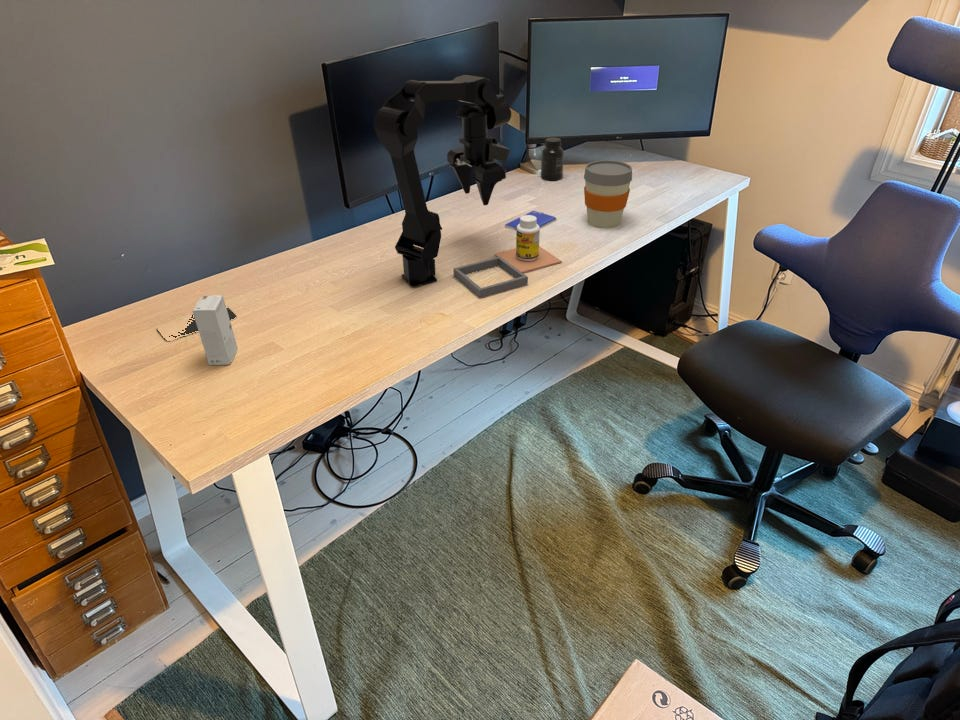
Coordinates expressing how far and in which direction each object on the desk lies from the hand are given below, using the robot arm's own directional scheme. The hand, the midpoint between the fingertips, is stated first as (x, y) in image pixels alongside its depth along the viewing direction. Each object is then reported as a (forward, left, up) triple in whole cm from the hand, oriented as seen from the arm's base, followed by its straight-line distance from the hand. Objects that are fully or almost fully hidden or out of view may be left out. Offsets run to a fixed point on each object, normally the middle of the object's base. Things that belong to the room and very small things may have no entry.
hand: (476, 199), depth 165 cm
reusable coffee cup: (+38, -3, -13) cm, 40 cm away
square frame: (-6, -17, -13) cm, 22 cm away
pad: (+7, -12, -13) cm, 19 cm away
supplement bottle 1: (+7, -12, -13) cm, 19 cm away
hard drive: (+20, +6, -14) cm, 25 cm away
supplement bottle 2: (+46, +34, -13) cm, 59 cm away
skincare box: (-67, -18, -13) cm, 71 cm away
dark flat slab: (-69, -2, -14) cm, 70 cm away
